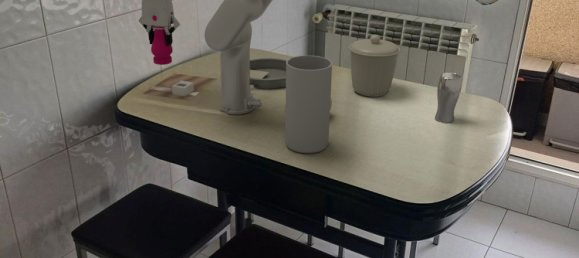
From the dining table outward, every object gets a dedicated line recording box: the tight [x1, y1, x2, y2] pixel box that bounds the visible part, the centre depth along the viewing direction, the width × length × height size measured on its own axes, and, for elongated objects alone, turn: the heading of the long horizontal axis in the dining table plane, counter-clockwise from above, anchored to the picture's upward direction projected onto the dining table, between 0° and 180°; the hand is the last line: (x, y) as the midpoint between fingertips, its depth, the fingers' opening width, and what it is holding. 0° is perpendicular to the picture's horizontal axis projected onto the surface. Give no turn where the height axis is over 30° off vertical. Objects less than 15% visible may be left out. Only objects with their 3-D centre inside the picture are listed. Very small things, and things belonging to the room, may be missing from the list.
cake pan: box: [250, 57, 288, 89], centre depth 206 cm, size 25×25×4 cm
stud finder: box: [172, 81, 194, 96], centre depth 188 cm, size 5×6×3 cm
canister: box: [348, 34, 401, 97], centre depth 191 cm, size 18×18×21 cm
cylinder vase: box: [284, 55, 333, 154], centre depth 152 cm, size 12×12×25 cm
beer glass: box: [434, 71, 463, 124], centre depth 171 cm, size 7×7×15 cm
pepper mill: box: [150, 15, 174, 66], centre depth 182 cm, size 7×7×20 cm
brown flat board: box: [142, 73, 218, 101], centre depth 194 cm, size 18×22×2 cm
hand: (161, 43), depth 184 cm, fingers closed on pepper mill, 5 cm apart
